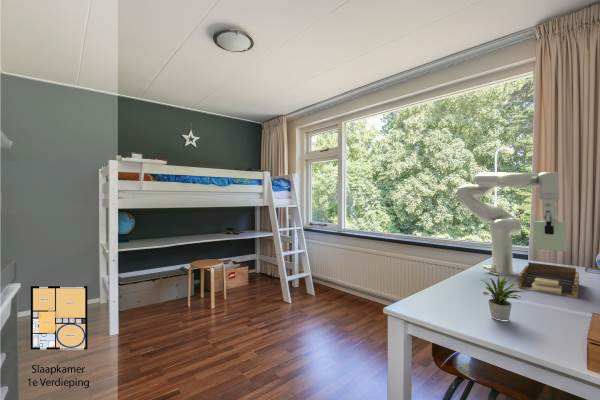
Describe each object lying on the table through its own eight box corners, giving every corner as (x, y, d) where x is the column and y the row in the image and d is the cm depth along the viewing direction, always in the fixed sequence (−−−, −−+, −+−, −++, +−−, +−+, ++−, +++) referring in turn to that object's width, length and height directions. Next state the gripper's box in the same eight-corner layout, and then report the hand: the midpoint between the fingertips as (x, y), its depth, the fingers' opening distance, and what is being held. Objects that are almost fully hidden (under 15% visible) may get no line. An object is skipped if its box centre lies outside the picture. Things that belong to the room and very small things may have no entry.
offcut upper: (558, 288, 123) (558, 283, 123) (534, 284, 129) (534, 279, 129) (559, 286, 126) (558, 280, 126) (536, 282, 132) (536, 277, 132)
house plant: (491, 328, 96) (490, 281, 95) (467, 312, 109) (466, 271, 109) (532, 327, 96) (531, 280, 95) (503, 311, 110) (502, 270, 109)
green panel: (566, 251, 132) (565, 222, 132) (533, 248, 141) (533, 221, 141) (566, 250, 135) (566, 222, 134) (534, 247, 143) (534, 221, 143)
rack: (577, 300, 118) (577, 279, 118) (518, 290, 132) (517, 271, 132) (579, 286, 135) (578, 268, 135) (526, 278, 150) (526, 261, 149)
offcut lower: (561, 295, 122) (561, 289, 122) (531, 290, 129) (531, 284, 129) (562, 291, 126) (562, 286, 126) (533, 287, 133) (533, 281, 133)
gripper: (557, 197, 129) (558, 236, 129) (560, 196, 141) (561, 232, 141) (536, 197, 135) (537, 235, 135) (540, 196, 146) (541, 231, 146)
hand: (549, 233), depth 138 cm, fingers closed on green panel, 3 cm apart
